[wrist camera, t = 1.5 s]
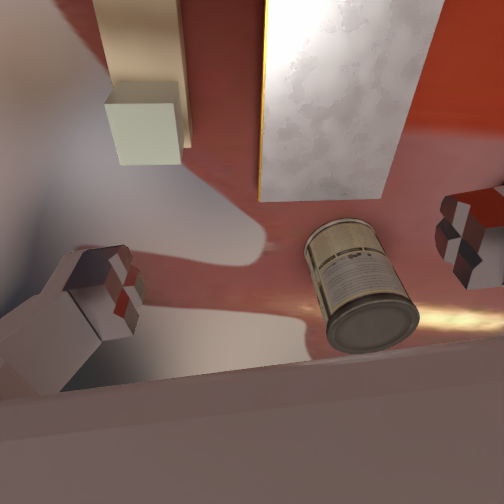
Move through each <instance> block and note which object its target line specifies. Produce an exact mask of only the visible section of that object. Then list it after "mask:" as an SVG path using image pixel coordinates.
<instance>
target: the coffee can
mask: <svg viewBox="0 0 504 504" xmlns="http://www.w3.org/2000/svg"><path fill="white" fill-rule="evenodd" d="M304 254H305V258H306V261H307V263H308V267H309V270H310V274H311V278H312V281H313V285H314V288H315V291H316V295H317V299H318V302H319V306H320V310H321V313H322V316H323V320H324V324H325V327H326V335H327V339H328V342H329V344H330V345H331V346H332V347H333V348H334V349H336V350H338V351H341V352H344V353H348V354H365V353H373V352H378V351H381V350H384V349H387V348H390V347H392V346H394V345H396V344H398V343H400V342H402V341H403V340H405V339H406V338H407V337H408V336H410V335H411V334H412V333H413V331H414V330H415V329H416V327H417V326H418V323H419V319H420V315H419V312H418V310H417V308H416V306H415V305H414V304H413V303H412V301H411V299H410V297H409V296H408V294H407V292H406V290H405V288H404V286H403V284H402V282H401V281H400V279H399V277H398V275H397V273H396V271H395V270H394V268H393V266H392V264H391V262H390V260H389V258H388V256H387V255H386V253H385V251H384V249H383V247H382V245H381V243H380V241H379V240H378V238H377V236H376V233H375V231H374V229H373V228H372V227H371V226H370V225H369V224H368V223H366V222H364V221H362V220H359V219H353V218H343V219H338V220H334V221H331V222H329V223H327V224H325V225H323V226H321V227H320V228H318V229H317V230H316V231H315V232H314V233H313V234H312V235H311V236H310V237H309V239H308V241H307V242H306V245H305V249H304Z"/></svg>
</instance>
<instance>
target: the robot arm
mask: <svg viewBox="0 0 504 504" xmlns="http://www.w3.org/2000/svg"><path fill="white" fill-rule="evenodd" d="M440 212H441V213H442V215H443V216H444V218H443V219H442V220H441V221H440V222H439V223H438V224H437V225H436V232H435V242H436V247H437V250H438V252H439V254H440V256H441V257H442V258H443V260H445V261H447V262H449V263H451V264H453V265H454V268H453V273H454V274H455V276H456V277H457V278H458V280H459V281H460V282H461V284H462V285H463V286H464V288H465V289H466V290H473V289H482V288H491V287H500V286H504V185H502V186H497V187H492V188H487V189H482V190H476V191H471V192H465V193H459V194H453V195H447V196H445V197H444V199H443V200H442V202H441V207H440ZM132 259H133V256H132V254H131V252H130V250H129V248H128V247H126V246H125V245H117V246H109V247H102V248H94V249H88V250H80V251H74V252H69V253H67V254H65V255H64V256H63V258H62V260H61V261H60V263H59V264H58V266H57V268H56V269H55V271H54V273H53V274H52V276H51V277H50V279H49V281H48V282H47V284H46V285H45V287H44V289H43V290H42V292H41V294H40V295H35V296H33V297H31V298H30V299H28V300H27V301H25V302H24V303H23V304H21V305H20V306H18V307H17V308H15V309H14V310H13V311H11V312H10V313H8V314H7V315H5V316H4V317H3V318H1V319H0V504H504V336H499V337H491V338H483V339H475V340H467V341H459V342H451V343H443V344H436V345H428V346H420V347H412V348H404V349H396V350H388V351H381V352H373V353H365V354H357V355H349V356H342V357H334V358H326V359H318V360H310V361H304V362H295V363H288V364H279V365H272V366H264V367H256V368H249V369H241V370H233V371H225V372H217V373H210V374H202V375H195V376H187V377H178V378H172V379H171V378H170V379H163V380H156V381H147V382H140V383H132V384H124V385H116V386H109V387H100V388H93V389H85V390H77V391H69V392H62V393H58V392H59V391H60V390H61V389H62V388H63V386H64V385H65V384H66V383H67V382H68V381H69V380H70V379H71V377H72V376H73V375H74V374H75V373H76V372H77V370H78V369H79V368H80V367H81V366H82V365H83V364H84V362H85V361H86V360H87V359H88V358H89V357H90V355H91V354H92V353H93V352H94V351H95V350H96V349H97V347H98V346H99V345H100V344H101V341H105V340H111V339H117V338H123V337H129V336H133V335H134V331H135V328H136V324H137V321H138V317H139V315H138V313H137V311H136V309H137V308H138V307H139V306H140V305H141V304H142V303H143V299H144V295H145V293H144V281H143V277H142V275H141V273H140V270H139V269H137V268H136V267H134V266H133V265H131V262H132ZM503 288H504V287H503Z"/></svg>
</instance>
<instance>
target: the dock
mask: <svg viewBox="0 0 504 504" xmlns="http://www.w3.org/2000/svg"><path fill="white" fill-rule="evenodd" d="M443 3H444V0H264V22H263V49H262V77H261V104H260V132H259V159H258V187H257V197H258V201H260V202H281V201H316V200H351V199H380V198H381V195H382V192H383V189H384V186H385V183H386V180H387V177H388V174H389V170H390V167H391V164H392V161H393V158H394V155H395V152H396V149H397V146H398V143H399V139H400V136H401V133H402V130H403V127H404V124H405V121H406V118H407V115H408V112H409V109H410V105H411V102H412V99H413V96H414V93H415V90H416V87H417V84H418V81H419V78H420V74H421V71H422V68H423V65H424V62H425V59H426V56H427V53H428V50H429V47H430V44H431V40H432V37H433V34H434V31H435V28H436V25H437V22H438V19H439V16H440V13H441V10H442V6H443Z"/></svg>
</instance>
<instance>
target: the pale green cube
mask: <svg viewBox="0 0 504 504" xmlns="http://www.w3.org/2000/svg"><path fill="white" fill-rule="evenodd" d="M104 105H105V109H106V113H107V117H108V121H109V124H110V128H111V132H112V136H113V140H114V144H115V147H116V151H117V155H118V159H119V163H120V165H168V164H170V165H171V164H181V162H182V155H183V147H184V140H185V136H184V127H183V118H182V109H181V101H180V92H179V83H178V82H117V84H116V86H115V87H114V89H113V90H112V92H111V94H110V95H109V97H108V98H107V100H106V102H105V103H104Z"/></svg>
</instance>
